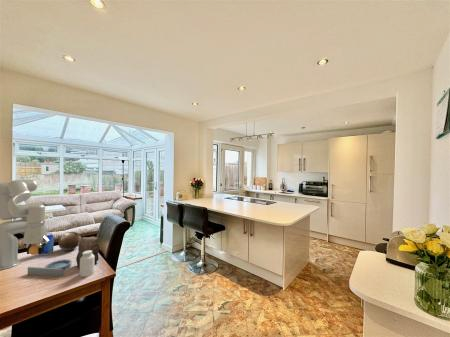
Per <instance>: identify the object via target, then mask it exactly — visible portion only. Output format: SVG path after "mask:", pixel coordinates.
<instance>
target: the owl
mask: <svg viewBox="0 0 450 337" xmlns="http://www.w3.org/2000/svg"><path fill="white" fill-rule="evenodd" d="M80 239H81V241H80V243H79V245H78V246H77V250H78V252H77V255H76V258H75V259H76V265H77V267H76V268H78V271H80V258H81V257H82V256H83V255H82V253H83V252H84V251H88V250H91V251H92V254H93V255H94V256H95V260H94V267H95V266H96V265H98V261H99V260H100V258H99V250H100V237H97V236H93V235H92V236H89V237H87V236H86V237H85V236H83V237H82V236H81V238H80Z"/></svg>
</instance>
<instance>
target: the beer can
mask: <svg viewBox="0 0 450 337" xmlns="http://www.w3.org/2000/svg"><path fill="white" fill-rule="evenodd" d="M47 238H48V239H49V240H50V241H49V242H48V243H47V244H46V245H45V246H44V252H43V253H41V254H39V255H40V256H41V255H44V256H48V254H49V255H50V254H52V253H53V252H54V239H55V238H54V234H53V233H52V232H47ZM44 242H45V241H44ZM41 244H42V243H41Z"/></svg>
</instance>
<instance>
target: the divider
mask: <svg viewBox="0 0 450 337" xmlns="http://www.w3.org/2000/svg"><path fill="white" fill-rule="evenodd" d="M27 275H28V276H29V275H31V276H46V277H47V276H49V277H60V278H61V277H63V276H64V270H63V269H57V268H44V267H39V266H38V267H37V266H35V267H34V266H28V267H27Z"/></svg>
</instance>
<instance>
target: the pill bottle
mask: <svg viewBox="0 0 450 337" xmlns="http://www.w3.org/2000/svg"><path fill="white" fill-rule="evenodd" d="M82 255H83V256H82V257H81V258H80V270H79V276H80V278H81V277H82V278H86V277H90V276H92V275H93V274H94V273H95V266H94V260H95V256H94V255H93V254H92V251H91V250H88V251H84V252H83V253H82Z"/></svg>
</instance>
